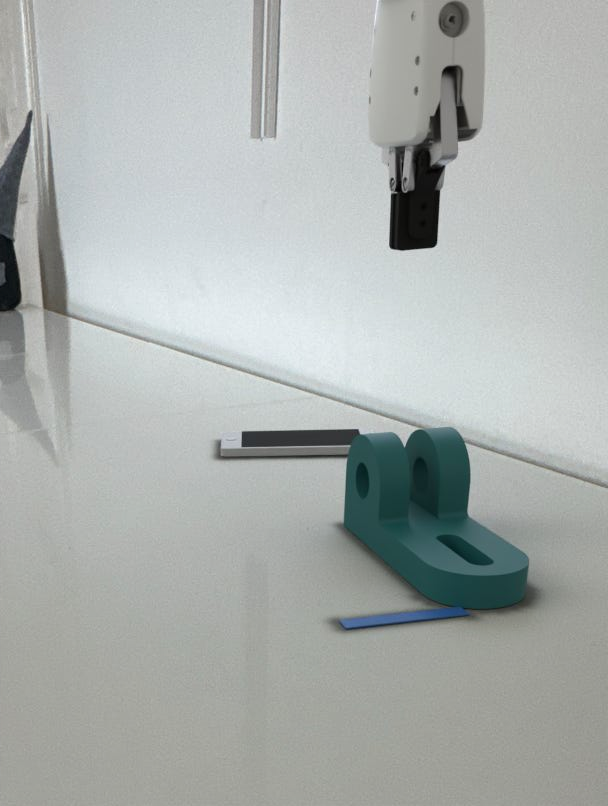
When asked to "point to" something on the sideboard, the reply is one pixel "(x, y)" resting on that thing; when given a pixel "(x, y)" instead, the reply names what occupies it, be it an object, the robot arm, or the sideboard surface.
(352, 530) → the bracket
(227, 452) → the smartphone
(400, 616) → the tape line
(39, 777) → the sideboard surface
